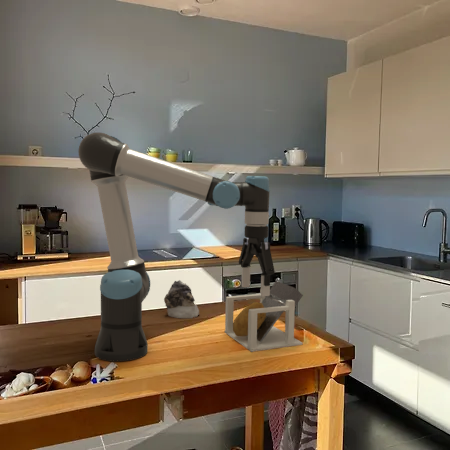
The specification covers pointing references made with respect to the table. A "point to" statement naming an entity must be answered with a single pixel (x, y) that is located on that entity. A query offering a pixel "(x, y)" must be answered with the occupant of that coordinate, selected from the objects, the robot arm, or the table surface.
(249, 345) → the frame
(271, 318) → the flap
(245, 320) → the potato
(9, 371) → the table surface
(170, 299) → the stone
